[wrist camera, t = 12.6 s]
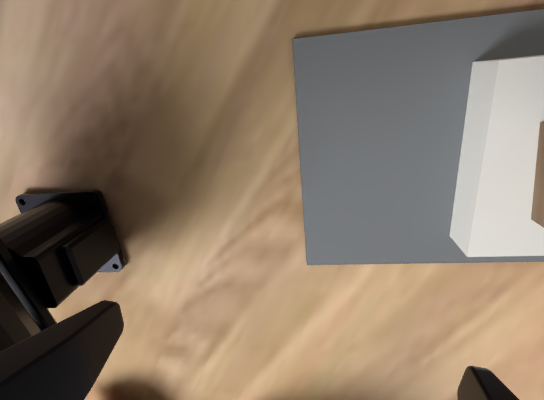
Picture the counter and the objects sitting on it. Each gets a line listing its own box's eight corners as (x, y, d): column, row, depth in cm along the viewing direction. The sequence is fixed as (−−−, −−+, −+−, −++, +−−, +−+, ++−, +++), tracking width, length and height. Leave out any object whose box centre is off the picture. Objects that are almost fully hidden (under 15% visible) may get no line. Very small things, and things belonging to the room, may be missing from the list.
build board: (306, 261, 22) (306, 287, 19) (292, 39, 17) (289, 34, 14) (636, 256, 19) (687, 285, 16) (743, -14, 14) (843, -34, 11)
